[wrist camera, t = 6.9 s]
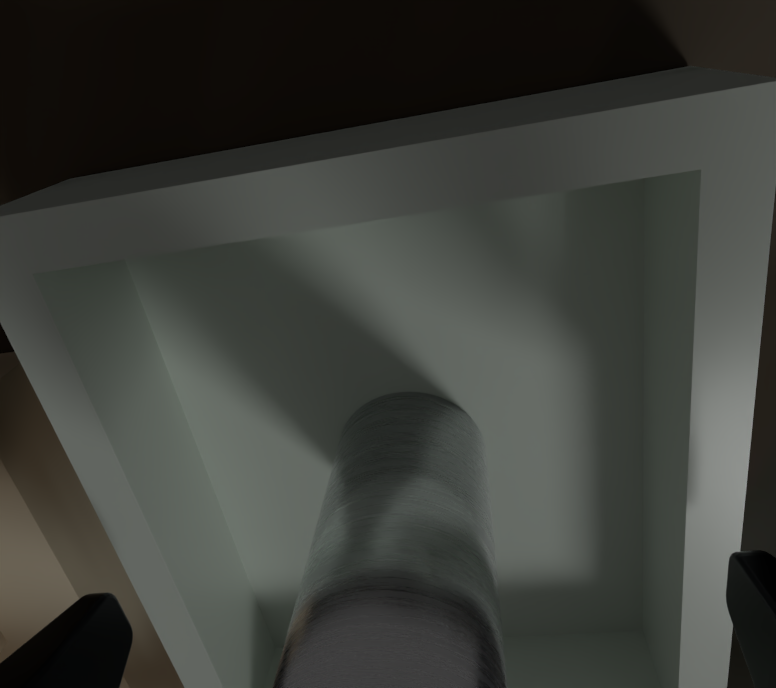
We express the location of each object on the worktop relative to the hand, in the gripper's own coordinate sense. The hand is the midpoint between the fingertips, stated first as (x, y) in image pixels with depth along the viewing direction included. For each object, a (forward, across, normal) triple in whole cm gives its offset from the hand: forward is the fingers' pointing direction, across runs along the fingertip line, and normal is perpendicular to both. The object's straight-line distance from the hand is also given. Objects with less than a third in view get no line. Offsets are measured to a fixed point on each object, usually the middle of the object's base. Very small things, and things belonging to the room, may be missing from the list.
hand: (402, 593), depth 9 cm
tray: (+4, 0, 0) cm, 4 cm away
